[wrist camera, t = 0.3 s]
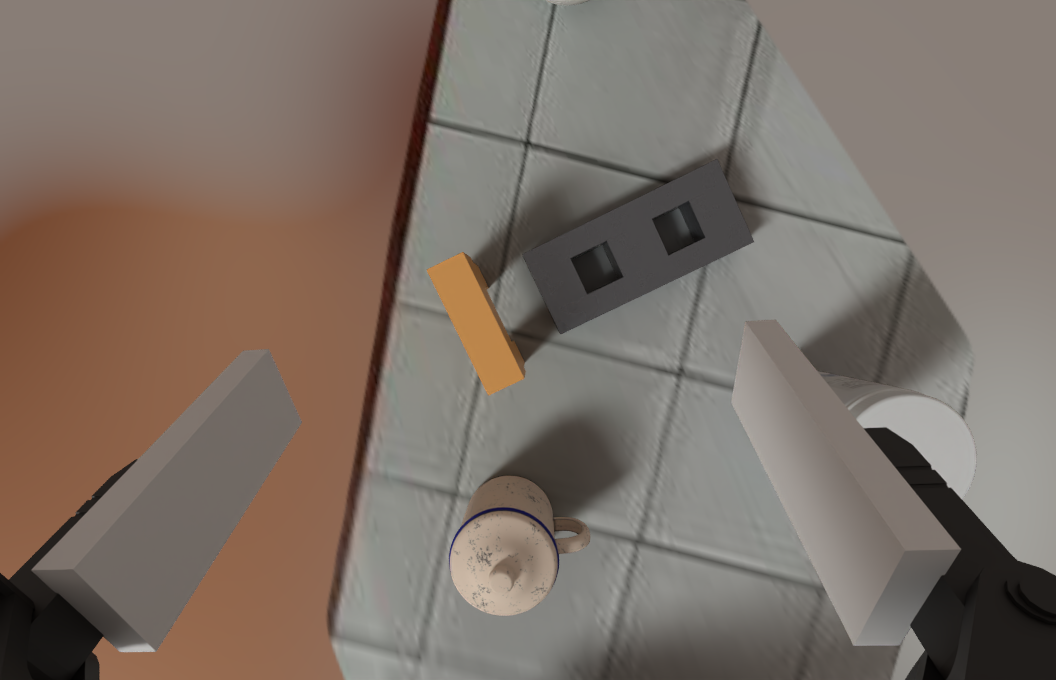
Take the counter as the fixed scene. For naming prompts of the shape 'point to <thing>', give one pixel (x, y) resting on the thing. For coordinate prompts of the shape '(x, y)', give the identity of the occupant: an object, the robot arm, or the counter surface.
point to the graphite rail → (639, 246)
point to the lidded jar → (567, 2)
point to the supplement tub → (914, 425)
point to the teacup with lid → (510, 546)
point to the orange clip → (477, 322)
